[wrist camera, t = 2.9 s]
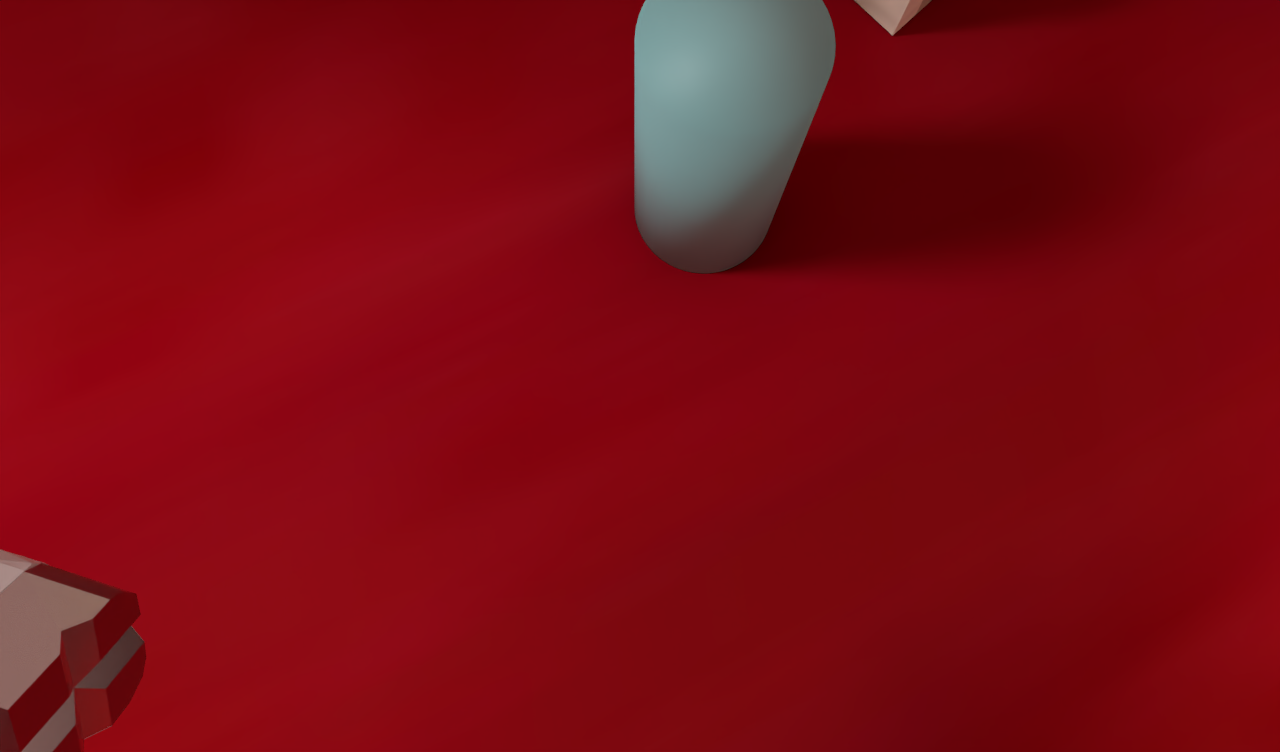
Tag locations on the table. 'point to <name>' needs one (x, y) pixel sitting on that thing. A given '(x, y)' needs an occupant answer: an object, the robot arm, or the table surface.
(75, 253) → the table surface
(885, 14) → the bore box
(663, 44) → the peg
